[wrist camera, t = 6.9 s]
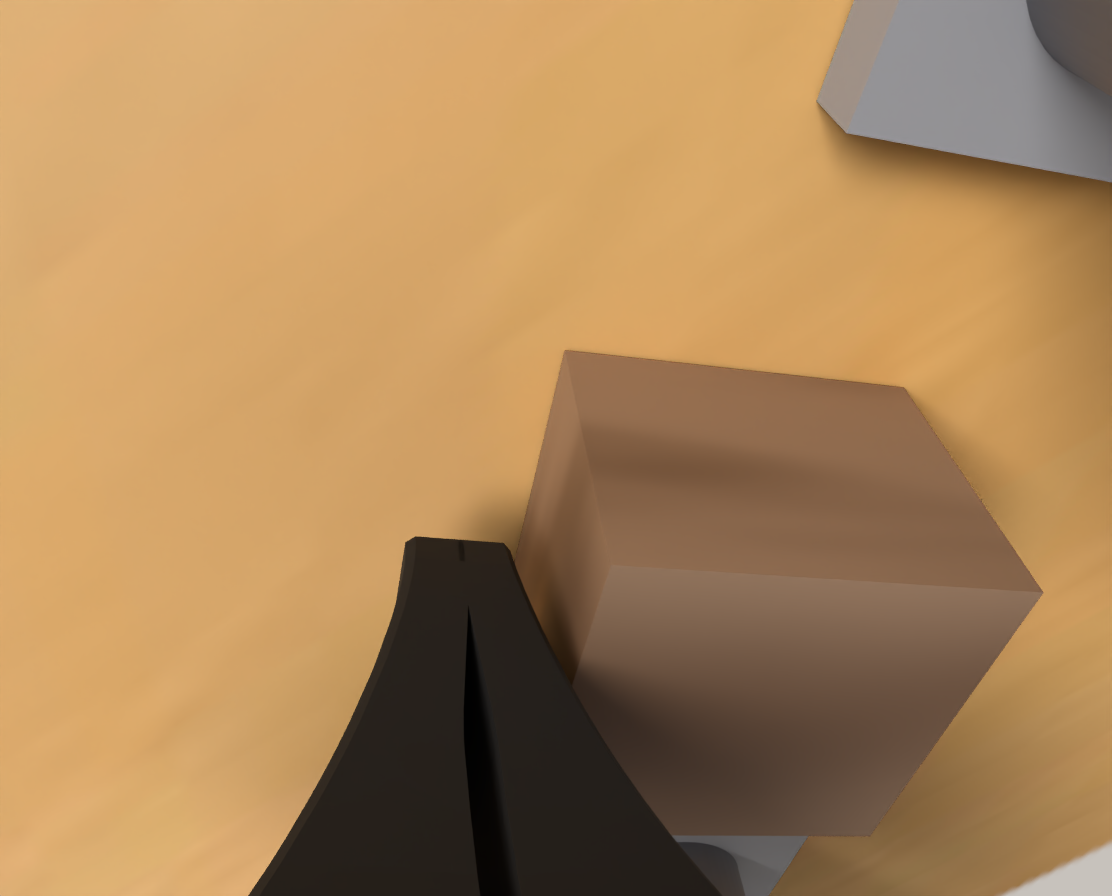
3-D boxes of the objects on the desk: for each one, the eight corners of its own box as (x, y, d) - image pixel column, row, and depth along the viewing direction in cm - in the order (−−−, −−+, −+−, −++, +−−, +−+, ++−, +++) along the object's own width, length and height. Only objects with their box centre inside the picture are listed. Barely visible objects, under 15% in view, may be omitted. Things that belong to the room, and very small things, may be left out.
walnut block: (786, 622, 17) (870, 836, 14) (503, 607, 16) (524, 834, 13) (903, 388, 14) (1043, 592, 11) (565, 350, 13) (610, 565, 10)
